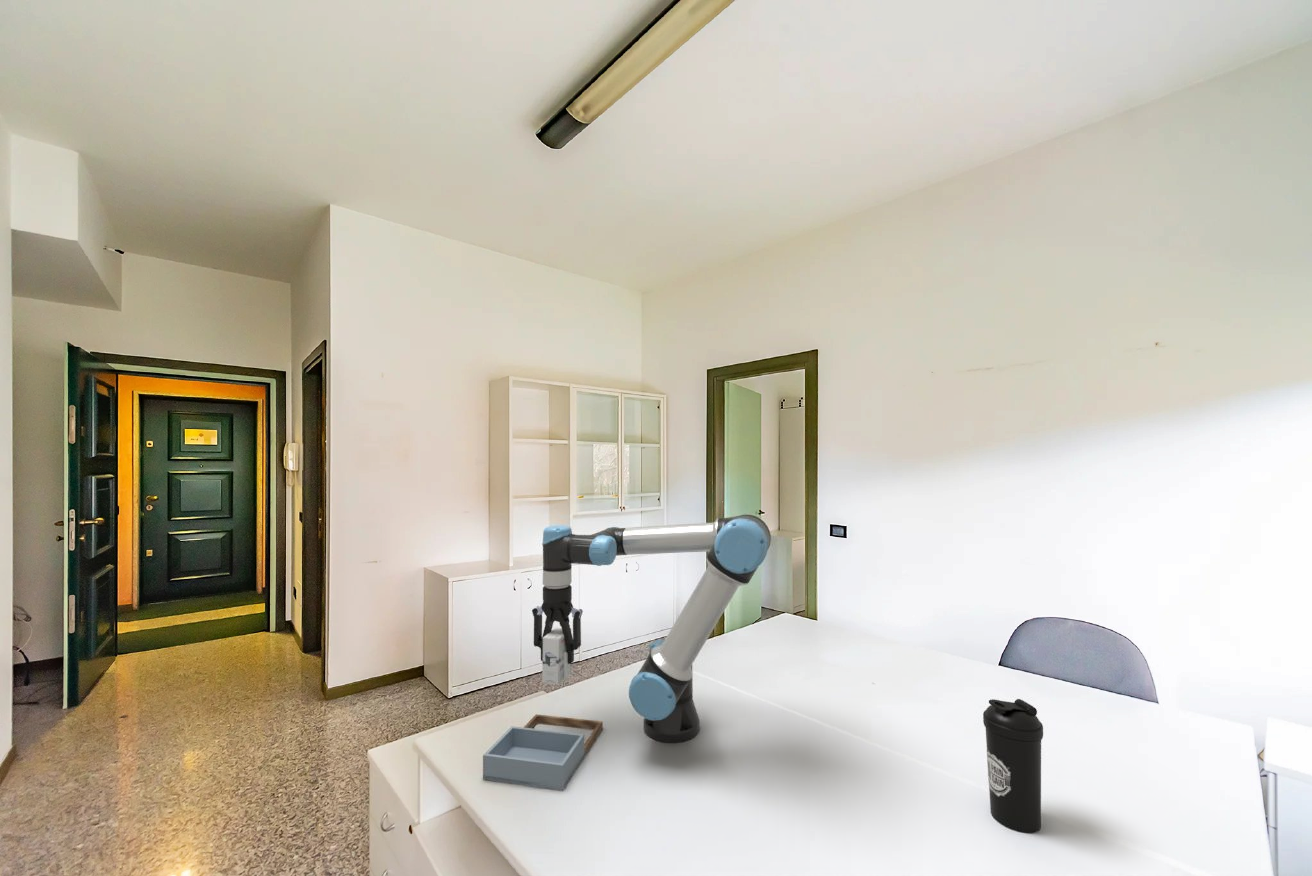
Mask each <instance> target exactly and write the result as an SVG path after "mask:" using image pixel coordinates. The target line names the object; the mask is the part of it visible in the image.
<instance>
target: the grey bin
mask: <svg viewBox="0 0 1312 876" xmlns="http://www.w3.org/2000/svg"><path fill="white" fill-rule="evenodd" d="M585 757H586V756H585V734H584V733H583V734H582V733H575V732H568V731H558V730H549V729H539V728H533V729H532V728H524V726H522V727H521V726H513V725H512V726H510V727H509V728H508V729H507V730H506V731H505V733H503V734H502V735H501V736H500V737H499V739H497V740H496V742H495V743H493V744H492V745H491V746H490V748H488V750H487V751H485V753H484V754H483V755H482V780H483V781H491V782H496V783H497V782H498V783H504V784H511V785H518V786H526V787H532V788H539V789H546V790H554V791H561V792H564V790H565V788H566V787H567V785H568V783H569V782H570V780H572V777H573V776H574V774H575V773H576V771H577V770H578V769H579V766H580V765H581V763H582V762H583V760H584V759H585Z"/></svg>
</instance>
